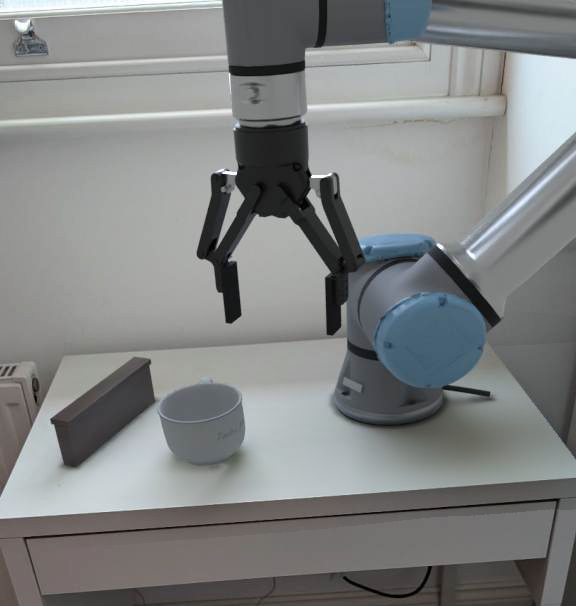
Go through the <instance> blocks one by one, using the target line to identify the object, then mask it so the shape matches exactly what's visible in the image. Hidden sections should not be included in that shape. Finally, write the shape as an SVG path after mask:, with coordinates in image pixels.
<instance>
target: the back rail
mask: <svg viewBox="0 0 576 606" xmlns="http://www.w3.org/2000/svg"><path fill="white" fill-rule="evenodd" d="M151 364H152V359H151V358H147V357H141V356H133V357H132V358H131V359H129V360H128V361H126V362H125V363H124V364H122V365H121V366H120V367H118V368H117V369H115V370H114V371H113V372H111V373H110V374H109V375H107V376H106V377H105V378H103V379H102V380H100V381H99V382H98V383H96V384H95V385H94V386H93V387H91V388H90V389H88V390H87V391H86V392H84V393H83V394H82V395H80V396H79V397H78V398H76V399H75V400H73V401H72V402H70V403H69V404H68V405H67V406H65V407H64V408H62V409H61V410H59V411H58V412H57V413H55V414H54V415H52V417H50V418H49V421H50V424H51V425H53V427H54V430H55V435H56V438H57V443H58V447H59V450H60V454H61V458H62V463H63V465H64V466H67V467H72V468H77V467H78V466H79V465H81V464H82V463H84V461H85V460H87V459H88V458H89V457H90V456H91V455H93V454H94V453H95V452H96V451H97V450H99V449H100V448H101V447H102V446H103V445H105V444H106V443H107V442H108V441H110V440H111V439H112V438H113V437H114V436H115V435H116V434H118V433H119V432H120V431H121V430H122V429H123V428H125V427H126V426H127V425H128V424H130V423H131V422H132V421H133V420H134V419H136V418H137V416H139V415H140V414H142V413H143V412H144V411H145V410H147V408H149V407H150V406H151V405H152V404H153V403H154V402H156V397H155V392H154V384H153V379H152V374H151V373H152V372H151Z"/></svg>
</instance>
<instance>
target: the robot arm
mask: <svg viewBox="0 0 576 606" xmlns="http://www.w3.org/2000/svg"><path fill="white" fill-rule="evenodd" d="M221 5H222V15H223V26H224V36H225V45H226V46H225V47H226V55H227V56H226V58H227V65H228V66H227V68H228V79H229V92H230V103H231V114H232V117H233V119H235V120H236V121H238V122H237V123H235V125H234V127H233V129H232V130H233V141H234V152H235V153H234V154H235V160H236V163H237V171H231V170H230V169H228V167H224V168H221V169H219V170H217V171H215V172H213V173H212V174H211V175H210V190H211V191H210V193H211V195H210V199H209V202H208V205H207V206H208V207H207V210H206V214H205V217H204V222H203V226H202V228H201V229H202V230H201V233H200V237H199V241H198V244H197V249H196V252H195V253H196V257H197V258H198V259H199V260H201V261H203V260H205V261H207V262H209V263H211V265H212V266H213V271H214V282H215V290H216V291H217V293H219V294H222V301H223V302H222V303H223V311H224V321H225V324H230V325H232V324H233V323H235V322H236V321H237V320H238V319H240V318H241V317H242V316H243V315H242V313H243V312H242V303H241V293H240V292H241V291H240V283H239V281H240V280H239V271H238V261H237V260H230V259H232V257H233V256H232V255H233V253H234V252H235V250H236V248H237V247H238V245H239V244H240V242H241V240H242V239H243V237H244V235H245V233H246V232H247V230H248V229H249V227H250V226H251V224H252V223H253V220H254V219H255V217H256V216H257V215H258V217H259V218H267V217H274V218H278V219H287V218H288V217H289V218H290V220H291V221H292V223H293V224H295V225H296V226H298V227H299V229H300V230H301V231H302V233H303V234H304V236H305V237H306V239H307V240H308V242H309V243H310V245H311V246H312V248H313V249H314V250H315V252H316V253H317V254H318V256H319V257H320V259H321V261H322V262H323V264H324V265H325V267H327V269H328V270H329V273H328V274H327V275H326V276H325V277H324V290H325V291H324V294H325V295H324V296H325V297H324V298H325V299H324V300H325V328H326V329H325V333H326V336H334V335H335V334H337V332H338V331H339V330H340V329H341V328H342V306H343V305H344V304H345V305H346V307H345V308H346V309H345V310H346V311H345V312H346V352H345V355H344V360H343V362H342V366H341V369H340V371H339V375H338V378H337V381H336V384H335V388H334V400H335V401H334V403H335V406H336V407H337V409H338V410H339V411H340V412H341V413H342V414H343V415H345V416H347V417H348V418H351V419H353V420H355V421H359V422H362V423H366V424H371V425H381V426H382V425H385V426H390V425H391V426H392V425H404V424H405V425H406V424H410V423H414V422H418V421H422V420H425V419H427V418H428V417H430V416H432V415H434V414H435V413H436V412H438V411H439V410H440V408H441V407H442V404H443V400H444V399H443V396H444V391H447V392H448V391H449V392H455V393H456V392H457V393H462V394H469V395H475V396H482V397H487V398H490V397H491V391H490V390H484V389H477V388H472V387H466V386H460V385H452V384H454V383H455V382H457V381H459V380H461V379H463V378H464V377H465V376H467V375H468V374H470V372H471V371H472V370H473V369H474V368H475V367H476V365H478V363H479V362H480V359H481V358H482V356H483V353H484V347H485V344H486V342H487V334H488V333H489V332H490V331H491V330H492V329H493V328H494V327H496V326H497V325H498V324H499V323H501V321H502V320H503V319H504V318H505V317H504V316H505V308H506V302H507V299H508V298H509V297H510V296H511V295H512V294H513V293H514V292H515V291H517V290H518V288H520V287H522V286H523V284H525V283H526V282H527V281H528V280H529V279H530V278H532V276H533V275H535V274H536V273H537V272H538V271H539V270H540V269H541V268H542V267H544V266H545V265H546V264H547V263H548V262H549V261H550V260H551V259H552V258H554V257H555V256H556V255H557V254H559V252H561V250H563V249H564V248H565V247H566V246H568V244H569V243H571V242H572V241H573V240H574V239H575V238H576V131H575V132H574V133H573V134H572V135H570V136H569V138H567V139H566V140H565V141H564V142H563V143H562V144H561V145H560V146H559V147H557V149H555V151H553V152H552V153H551V154H550V155H549V156H548V157H547V158H545V160H544V161H543V162H541V164H539V166H537V167H536V168H535V169H534V170H533V171H532V172H531V173H530V174H528V176H527V177H525V179H523V180H522V181H521V182H520V183H519V184H518V185H517V186H516V187H514V188H513V190H512V191H511V192H510V193H509V194H507V195H506V196H505V197H504V198H503V199H502V200H501V201H500V202H498V204H497V205H495V207H493V209H492V210H490V211H489V212H488V213H487V214H486V215H485V216H484V217H483V218H482V219H481V220H479V221H478V222H477V223H476V224H475V225H474V226H473V227H472V228H471V229H470V230H469V231H468V232H467V233H466V234H464V236H462V237H461V238H460V239H459V240H457V241H454V242H436V240H435V238H433V237H432V236H430V235H426V234H419V233H386V234H377V235H372V236H371V235H369V236H366V237H362V238H358V236H357V234H356V232H355V231H356V230H355V228H354V226H353V224H352V221H351V219H350V215H349V214H348V211H347V209H346V205H345V203H344V201H343V198H342V196H341V185H340V184H341V183H340V176H339V174H338V173H337V172H335V171H332V172H330V173H328V174H327V175H326V174H325V175H323V174H321V175H313V174H312V172H311V170H310V166H309V159H310V151H309V150H310V149H309V148H310V147H309V125H308V122H307V121H306V119H305V118H302V117H304V116H305V115H306V114H307V112H308V96H307V95H308V94H307V78H306V76H307V75H306V49H321V48H323V47H341V46H343V47H345V46H361V45H374V44H388V45H393V44H395V43H397V42H405V43H415V44H424V45H432V46H433V45H435V46H443V47H453V48H463V49H474V50H483V51H491V52H492V51H493V52H503V53H510V54H511V53H513V54H521V55H530V56H539V57H550V58H561V59H570V60H576V0H221ZM236 188H237V189H238V191H239V193H241V196H243V198H244V199H243V201H242V203H241V204H240V205H239V208H238V209H237V211H236V213H235V214H236V215H235V217H234V219H233V220H232V223H231V224H230V226H229V227H228V229H227V230H226V232H225V234H224V235H223V237H222V239H221V240H220V236H221V233H222V229H223V227H224V226H223V225H224V222H225V218H226V214H227V211H228V207H229V204H230V200H231V196H232V193H233V192H234V191H235V189H236ZM311 190H314V192H315V195H316V198H319V199H320V202H321V206H322V209H323V212H324V214H325V216H326V219H327V221H328V223H329V226H330V229H331V231H332V233H333V236H334V238H333V236H332V235H331V233H330V232H329V231H328V229H327V228H326V226H325V225H324V223H323V222H322V220H321V219H320V218H319V216H318V214H317V213H316V208H315V206H314V204H313V203H312V202H311V200H310V199H309V197H308V195H309V193H310V191H311ZM219 240H220V243H219ZM218 243H219V244H218ZM229 260H230V261H229Z"/></svg>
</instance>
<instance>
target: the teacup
mask: <svg viewBox="0 0 576 606" xmlns="http://www.w3.org/2000/svg"><path fill="white" fill-rule="evenodd" d="M156 411H157V414H158V416H159V419H160V423H161V428H162V431H163V435H164V439H165V442H166V444H167V446H168V447H167V448H168V449H169V451H170V452H171V453H172V455H174V456H175V457H177V458H178V459H180V460H182V461H184V462H187V463H189V464H192V465H196V466H210V465H215V464H219V463H222V462H224V461H227V459H229V458H230V457H231V456H233V454H234V453H235V452H237V450H238V449H239V448H240V447H241V446H242V444H243V443H244V440H245V437H246V421H245V413H244V407H243V395H242V391H241V390H240V389H239V388H238V387H236V386H234V385H232V384H229V383H226V382H225V383H224V382H214V381H213V379H212V378H211V377H210V376H205V377H201V378H200V379H199V382H198V383H192V384H188V385H185V386H181V387H179V388H176V389H174V390H172V391H171V392H169V393H168V394H166V395H164V396H163V397H162V398H161V399H160V400H159V402H158V404H157V407H156Z"/></svg>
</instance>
